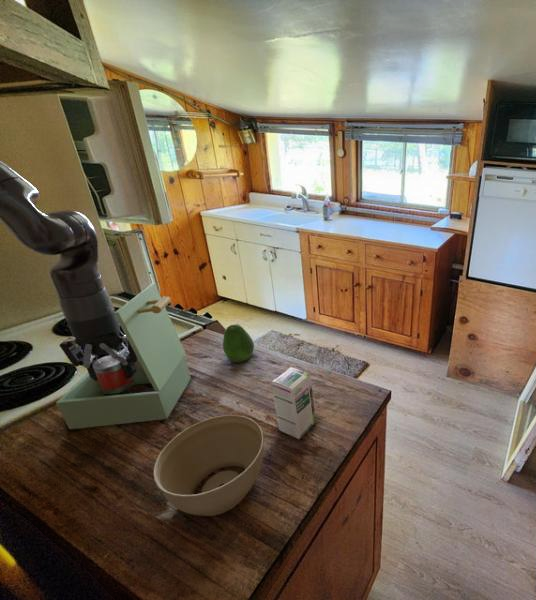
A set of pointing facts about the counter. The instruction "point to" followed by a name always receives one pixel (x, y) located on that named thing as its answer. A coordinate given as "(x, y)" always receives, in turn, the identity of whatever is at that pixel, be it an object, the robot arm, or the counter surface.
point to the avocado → (237, 343)
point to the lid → (151, 334)
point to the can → (111, 375)
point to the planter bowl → (210, 464)
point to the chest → (121, 400)
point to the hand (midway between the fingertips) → (115, 377)
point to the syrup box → (294, 402)
